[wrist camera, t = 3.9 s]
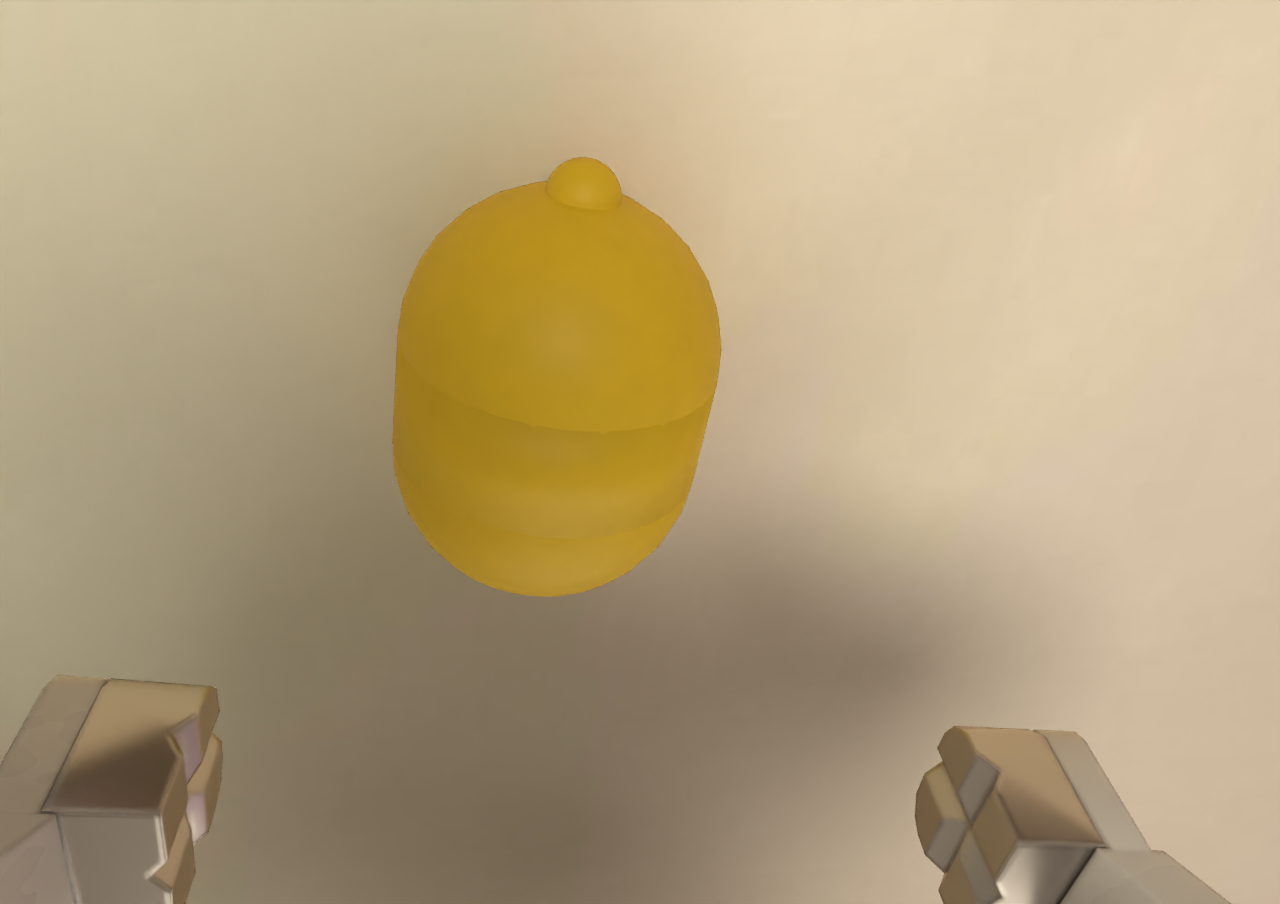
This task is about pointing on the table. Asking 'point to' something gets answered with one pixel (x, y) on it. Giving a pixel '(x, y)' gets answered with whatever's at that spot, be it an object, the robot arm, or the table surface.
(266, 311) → the table surface
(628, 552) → the lemon
